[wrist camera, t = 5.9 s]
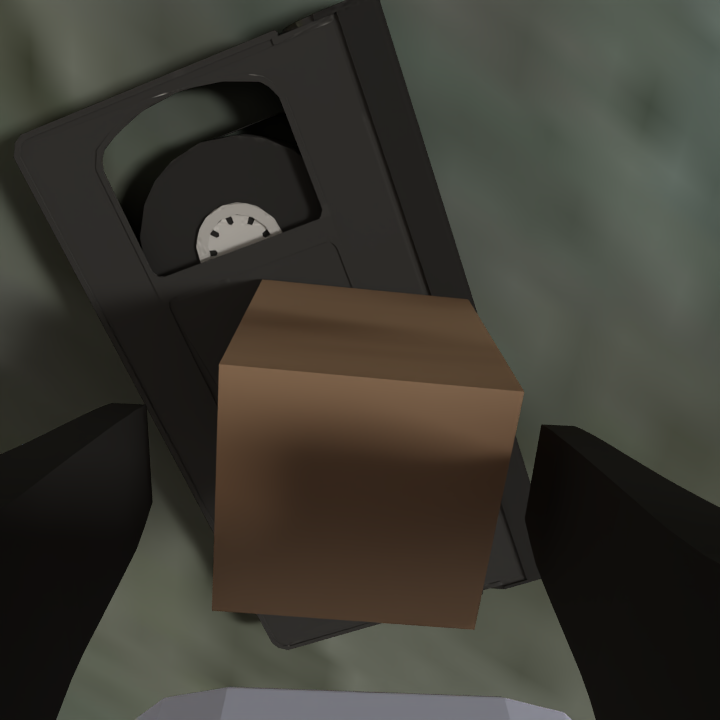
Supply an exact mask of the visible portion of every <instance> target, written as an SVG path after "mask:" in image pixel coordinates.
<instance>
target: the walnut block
mask: <svg viewBox="0 0 720 720" xmlns="http://www.w3.org/2000/svg"><path fill="white" fill-rule="evenodd" d="M523 395H524V391H523V389H522V387H521V386H520V384H519V382H518V381H517V379H516V377H515V376H514V374H513V372H512V371H511V369H510V367H509V366H508V364H507V362H506V361H505V359H504V357H503V356H502V354H501V353H500V351H499V349H498V348H497V346H496V344H495V343H494V341H493V339H492V338H491V336H490V334H489V333H488V331H487V329H486V328H485V326H484V324H483V323H482V321H481V319H480V318H479V316H478V315H477V313H476V311H475V310H474V308H473V306H472V305H471V303H470V301H469V300H468V299H459V298H449V297H439V296H428V295H418V294H408V293H397V292H387V291H377V290H367V289H356V288H346V287H336V286H325V285H315V284H305V283H294V282H284V281H274V280H263V279H262V281H261V283H260V285H259V287H258V289H257V291H256V293H255V295H254V297H253V299H252V301H251V303H250V305H249V307H248V309H247V310H246V312H245V314H244V316H243V318H242V320H241V322H240V324H239V326H238V328H237V330H236V332H235V334H234V336H233V338H232V340H231V342H230V344H229V346H228V348H227V350H226V352H225V354H224V356H223V358H222V359H221V361H220V363H219V385H218V420H217V455H216V490H215V525H214V560H213V595H212V611H225V612H239V613H253V614H266V615H280V616H294V617H308V618H322V619H335V620H349V621H363V622H377V623H391V624H405V625H418V626H432V627H446V628H460V629H475V624H476V619H477V615H478V610H479V605H480V600H481V595H482V591H483V586H484V581H485V576H486V572H487V567H488V562H489V557H490V553H491V548H492V543H493V538H494V534H495V529H496V524H497V519H498V515H499V510H500V505H501V500H502V495H503V491H504V486H505V481H506V476H507V472H508V467H509V462H510V457H511V453H512V448H513V443H514V438H515V434H516V429H517V424H518V419H519V414H520V410H521V405H522V400H523Z"/></svg>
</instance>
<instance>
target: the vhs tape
mask: <svg viewBox="0 0 720 720" xmlns="http://www.w3.org/2000/svg"><path fill="white" fill-rule="evenodd" d="M217 82H261V83H263V84H265V85H267V86H268V87H270V88H271V89H272V90H273V91H274V92H275V93H276V94H277V95H278V96H279V98H280V100H281V103H282V106H283V108H284V111H283V112H285V113H286V116H287V119H288V121H289V124H290V126H291V129H292V132H293V134H294V137H295V139H296V142H297V145H298V147H299V149H298V148H296V147H294V146H292V145H290V144H288V143H287V142H284V141H281V140H279V139H275V138H270V137H266V136H261V135H257V134H248V133H247V134H241V135H234V136H228V137H223V136H225V135H228V134H230V133H233V132H235V131H238V130H240V129H243V128H245V127H248V126H250V125H253V124H256V123H258V122H261V121H263V120H266V119H268V118H271V117H273V116H276V115H278V114H281V113H283V112H280V113H278V114H275V115H273V116H270V117H268V118H265V119H263V120H260V121H258V122H255V123H253V124H250V125H247V126H245V127H242V128H240V129H237V130H235V131H232V132H230V133H227V134H225V135H222V136H220V137H221V138H220V137H217V138H214V139H212V140H208V141H204V142H201V143H199V144H197V145H195V146H194V147H192V148H191V149H189V150H188V151H186V152H185V153H183V154H182V155H180V156H178V157H177V158H175V159H174V160H172V161H171V162H170V164H169V165H168V166H167V167H166V168H165V170H164V171H163V172H162V173H161V174H160V176H159V177H158V178H157V179H156V180H155V182H154V184H153V186H152V189H151V191H150V193H149V195H148V198H147V200H146V202H145V204H144V211H143V218H142V226H141V234H140V240H141V245H142V249H141V247H140V245H139V243H138V241H137V239H136V237H135V235H134V233H133V230H132V228H131V226H130V224H129V222H128V220H127V218H126V216H125V214H124V212H123V210H122V208H121V206H120V204H119V202H118V200H117V197H116V195H115V193H114V191H113V189H112V187H111V185H110V183H109V181H108V179H107V177H106V175H105V173H104V171H103V159H102V158H103V154H104V150H105V149H106V147H107V146H108V145H109V143H110V142H111V141H112V140H113V138H114V137H115V136H116V135H117V134H118V133H119V132H120V131H121V130H122V129H123V128H124V127H125V126H126V125H127V124H128V123H129V122H130V121H132V120H133V119H134V118H135V117H136V116H137V115H138V114H139V113H141V112H142V111H143V110H145V109H147V108H149V107H151V106H152V105H154V104H156V103H158V102H160V101H162V100H164V99H165V98H167V97H169V96H171V95H173V94H175V93H177V92H181V91H184V90H187V89H190V88H193V87H198V86H202V85H207V84H212V83H217ZM14 159H15V161H16V163H17V165H18V167H19V168H20V170H21V172H22V174H23V176H24V178H25V180H26V182H27V183H28V185H29V187H30V189H31V191H32V193H33V195H34V197H35V198H36V200H37V202H38V204H39V206H40V208H41V210H42V212H43V214H44V215H45V217H46V219H47V221H48V223H49V225H50V227H51V229H52V230H53V232H54V234H55V236H56V238H57V240H58V242H59V244H60V245H61V247H62V249H63V251H64V253H65V255H66V257H67V259H68V260H69V262H70V264H71V266H72V268H73V270H74V272H75V274H76V276H77V277H78V279H79V281H80V283H81V285H82V287H83V289H84V291H85V292H86V294H87V296H88V298H89V300H90V302H91V304H92V306H93V307H94V309H95V311H96V313H97V315H98V317H99V319H100V321H101V322H102V324H103V326H104V328H105V330H106V332H107V334H108V336H109V338H110V339H111V341H112V343H113V345H114V347H115V349H116V351H117V353H118V354H119V356H120V358H121V360H122V362H123V364H124V366H125V368H126V369H127V371H128V373H129V375H130V377H131V379H132V381H133V383H134V384H135V386H136V388H137V390H138V392H139V394H140V396H141V398H142V399H143V401H144V403H145V405H146V407H147V409H148V411H149V413H150V415H151V416H152V418H153V420H154V422H155V424H156V426H157V428H158V430H159V431H160V433H161V435H162V437H163V439H164V441H165V443H166V445H167V446H168V448H169V450H170V452H171V454H172V456H173V458H174V460H175V461H176V463H177V465H178V467H179V469H180V471H181V473H182V475H183V477H184V478H185V480H186V482H187V484H188V486H189V488H190V490H191V492H192V493H193V495H194V497H195V499H196V501H197V503H198V505H199V507H200V508H201V510H202V512H203V514H204V516H205V518H206V520H207V522H208V523H209V525H210V527H211V529H212V531H213V533H214V525H215V490H216V455H217V420H218V385H219V363H220V361H221V359H222V358H223V356H224V354H225V352H226V350H227V348H228V346H229V344H230V342H231V340H232V338H233V336H234V334H235V332H236V330H237V328H238V326H239V324H240V322H241V320H242V318H243V316H244V314H245V312H246V310H247V309H248V307H249V305H250V303H251V301H252V299H253V297H254V295H255V293H256V291H257V289H258V287H259V285H260V283H261V281H262V279H263V280H274V281H284V282H294V283H305V284H315V285H325V286H336V287H346V288H356V289H367V290H377V291H387V292H397V293H408V294H418V295H428V296H439V297H449V298H459V299H468V300H469V301H470V303H471V305H472V306H473V308H474V310H475V311H476V308H475V304H474V301H473V298H472V295H471V292H470V288H469V285H468V282H467V279H466V276H465V272H464V269H463V266H462V263H461V260H460V256H459V253H458V250H457V247H456V244H455V240H454V237H453V234H452V231H451V228H450V224H449V221H448V218H447V215H446V212H445V208H444V205H443V202H442V199H441V196H440V192H439V189H438V186H437V183H436V180H435V176H434V173H433V170H432V167H431V164H430V160H429V157H428V154H427V151H426V147H425V144H424V141H423V138H422V135H421V131H420V128H419V125H418V122H417V119H416V115H415V112H414V109H413V106H412V103H411V99H410V96H409V93H408V90H407V87H406V83H405V80H404V77H403V74H402V71H401V67H400V64H399V61H398V58H397V55H396V51H395V48H394V45H393V42H392V39H391V35H390V32H389V29H388V26H387V23H386V19H385V16H384V13H383V10H382V7H381V3H380V0H345V1H343V2H341V3H338V4H336V5H333V6H331V7H328V8H326V9H324V10H321V11H319V12H316V13H314V14H312V15H310V16H308V17H306V18H303V19H301V20H299V21H297V22H295V23H293V24H291V25H290V26H288V27H286V28H285V29H284V30H283V33H278V32H277V31H275V30H273V31H271V32H268V33H266V34H264V35H261V36H259V37H256V38H254V39H252V40H249V41H247V42H244V43H242V44H239V45H237V46H235V47H232V48H230V49H227V50H225V51H222V52H220V53H218V54H215V55H213V56H210V57H208V58H205V59H203V60H201V61H198V62H196V63H193V64H191V65H188V66H186V67H184V68H181V69H179V70H176V71H174V72H172V73H169V74H167V75H164V76H162V77H159V78H157V79H155V80H152V81H150V82H147V83H145V84H142V85H140V86H138V87H135V88H133V89H130V90H128V91H125V92H123V93H121V94H118V95H116V96H113V97H111V98H109V99H106V100H104V101H101V102H99V103H96V104H94V105H92V106H89V107H87V108H84V109H82V110H79V111H77V112H75V113H72V114H70V115H67V116H65V117H62V118H60V119H58V120H55V121H53V122H50V123H48V124H46V125H43V126H41V127H38V128H36V129H33V130H31V131H29V132H26V133H24V134H21V135H20V137H19V138H18V139H17V141H16V142H15V149H14ZM142 250H143V251H142ZM476 313H477V311H476ZM530 486H531V484H530V481H529V477H528V474H527V471H526V468H525V465H524V461H523V458H522V455H521V452H520V449H519V445H518V442H517V439H516V436H515V438H514V443H513V448H512V453H511V457H510V462H509V467H508V472H507V476H506V481H505V486H504V491H503V495H502V500H501V505H500V510H499V515H498V519H497V524H496V529H495V534H494V538H493V543H492V548H491V553H490V557H489V562H488V567H487V572H486V576H485V581H484V586H483V590H485V589H489V588H496V589H507V588H510V587H514V586H517V585H521V584H524V583H528V582H531V581H535V580H538V579H541V577H540V574H539V571H538V569H537V566H536V563H535V559H534V556H533V552H532V548H531V544H530V540H529V536H528V531H527V527H526V523H525V514H526V508H527V502H528V497H529V491H530ZM482 594H483V591H482ZM257 616H258V617H259V619H260V621H261V623H262V625H263V627H264V629H265V631H266V632H267V634H268V636H269V638H270V640H271V642H272V643H273V644H274V645H275V646H277V647H278V648H282V649H286V650H289V649H293V648H296V647H300V646H303V645H307V644H310V643H314V642H317V641H321V640H324V639H328V638H331V637H335V636H338V635H342V634H345V633H349V632H352V631H356V630H359V629H363V628H366V627H370V626H373V625H377V624H380V623H377V622H363V621H349V620H335V619H322V618H308V617H294V616H280V615H266V614H257Z"/></svg>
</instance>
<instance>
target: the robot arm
mask: <svg viewBox="0 0 720 720" xmlns="http://www.w3.org/2000/svg"><path fill="white" fill-rule="evenodd" d="M151 505H152V487H151V471H150V455H149V439H148V423H147V407H146V405H140V404H120V403H111V404H108V405H105V406H102V407H100V408H98V409H95V410H93V411H91V412H89V413H87V414H85V415H82V416H80V417H78V418H76V419H74V420H72V421H70V422H68V423H66V424H64V425H62V426H60V427H58V428H56V429H54V430H52V431H50V432H48V433H46V434H44V435H42V436H40V437H38V438H36V439H34V440H32V441H30V442H27V443H25V444H23V445H21V446H19V447H16V448H14V449H12V450H10V451H7V452H5V453H3V454H1V455H0V720H56V718H57V716H58V713H59V711H60V708H61V705H62V703H63V700H64V698H65V695H66V692H67V690H68V687H69V685H70V682H71V679H72V677H73V675H74V673H75V670H76V668H77V666H78V664H79V662H80V660H81V657H82V655H83V653H84V651H85V649H86V647H87V645H88V643H89V641H90V639H91V637H92V635H93V634H94V632H95V630H96V628H97V626H98V624H99V622H100V620H101V618H102V616H103V614H104V612H105V610H106V608H107V606H108V604H109V603H110V601H111V599H112V597H113V595H114V593H115V591H116V589H117V587H118V585H119V583H120V581H121V579H122V577H123V575H124V573H125V571H126V569H127V567H128V565H129V563H130V561H131V559H132V557H133V555H134V553H135V551H136V549H137V547H138V544H139V541H140V538H141V535H142V533H143V530H144V527H145V524H146V521H147V517H148V514H149V511H150V508H151ZM525 523H526V527H527V531H528V536H529V540H530V544H531V548H532V552H533V556H534V559H535V563H536V566H537V569H538V571H539V574H540V577H541V579H542V581H543V584H544V586H545V589H546V591H547V594H548V596H549V599H550V601H551V604H552V606H553V608H554V611H555V613H556V615H557V618H558V620H559V623H560V625H561V627H562V630H563V632H564V635H565V637H566V639H567V642H568V644H569V647H570V649H571V651H572V654H573V656H574V658H575V661H576V663H577V666H578V668H579V670H580V673H581V676H582V679H583V681H584V684H585V687H586V690H587V692H588V695H589V698H590V701H591V705H592V708H593V711H594V715H595V718H596V720H720V507H718V506H716V505H714V504H712V503H710V502H708V501H706V500H704V499H702V498H701V497H699V496H697V495H695V494H693V493H691V492H689V491H687V490H686V489H684V488H682V487H680V486H678V485H676V484H675V483H673V482H671V481H669V480H668V479H666V478H664V477H662V476H661V475H659V474H657V473H656V472H654V471H652V470H651V469H649V468H647V467H646V466H644V465H642V464H641V463H639V462H637V461H636V460H634V459H632V458H631V457H629V456H627V455H626V454H624V453H622V452H621V451H619V450H617V449H616V448H614V447H613V446H611V445H609V444H608V443H606V442H604V441H603V440H601V439H599V438H597V437H596V436H594V435H592V434H590V433H588V432H586V431H584V430H582V429H580V428H578V427H575V426H560V425H541V430H540V436H539V441H538V447H537V452H536V458H535V464H534V469H533V475H532V480H531V486H530V491H529V497H528V502H527V508H526V514H525ZM135 720H571V719H570V718H569V717H568V716H567V715H566V714H565V713H564V712H560V711H556V710H552V709H548V708H544V707H540V706H536V705H532V704H528V703H524V702H520V701H516V700H512V699H508V698H504V697H497V696H470V695H442V694H415V693H387V692H360V691H332V690H305V689H277V688H249V687H225V688H219V689H213V690H207V691H201V692H195V693H189V694H183V695H176V696H171V697H167V698H163V699H162V700H160V701H159V702H158V703H156V704H155V705H154V706H152V707H151V708H150V709H148V710H147V711H146V712H144V713H143V714H141V715H140V716H139V717H137V718H136V719H135Z"/></svg>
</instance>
